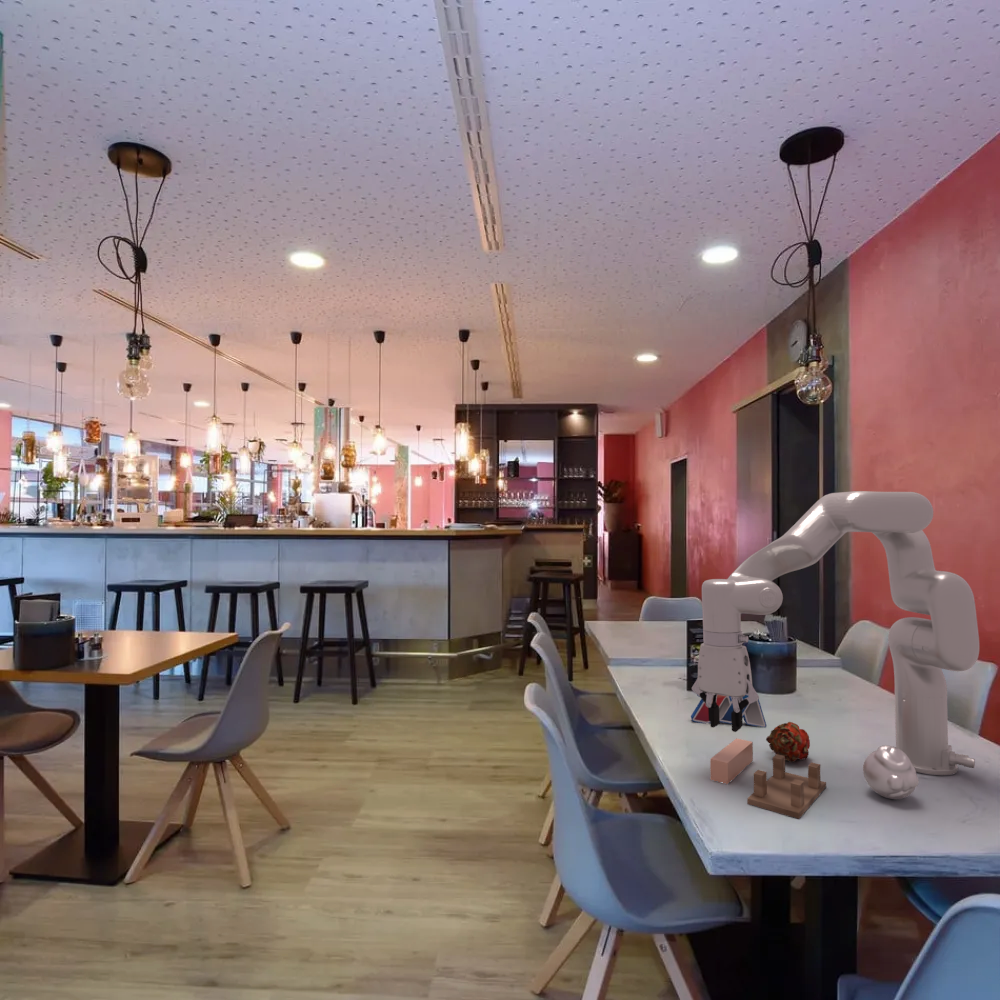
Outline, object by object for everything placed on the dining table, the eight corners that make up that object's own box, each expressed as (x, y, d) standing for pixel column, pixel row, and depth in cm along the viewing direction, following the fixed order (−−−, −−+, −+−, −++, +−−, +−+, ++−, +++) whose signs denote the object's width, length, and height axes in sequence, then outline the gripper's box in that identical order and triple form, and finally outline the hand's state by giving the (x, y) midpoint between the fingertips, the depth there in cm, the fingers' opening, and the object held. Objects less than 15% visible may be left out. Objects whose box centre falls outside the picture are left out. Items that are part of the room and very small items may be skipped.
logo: (691, 721, 164) (696, 683, 164) (690, 718, 167) (695, 681, 167) (765, 735, 161) (770, 696, 161) (763, 732, 163) (768, 694, 163)
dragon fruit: (789, 776, 133) (783, 764, 144) (824, 755, 132) (815, 745, 143) (763, 739, 136) (758, 731, 147) (797, 718, 135) (790, 711, 146)
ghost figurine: (861, 801, 117) (860, 747, 118) (865, 784, 125) (864, 733, 126) (919, 813, 112) (918, 757, 113) (919, 794, 120) (918, 742, 121)
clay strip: (736, 758, 139) (736, 738, 139) (752, 762, 137) (752, 741, 137) (710, 781, 127) (710, 758, 127) (727, 785, 125) (727, 762, 125)
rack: (778, 775, 129) (778, 750, 130) (826, 787, 123) (825, 761, 124) (747, 803, 116) (747, 776, 116) (799, 818, 110) (798, 790, 110)
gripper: (769, 640, 128) (773, 731, 127) (691, 632, 138) (694, 716, 138) (756, 646, 122) (760, 741, 121) (676, 637, 133) (679, 724, 132)
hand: (725, 726), depth 129 cm, fingers open, 3 cm apart
